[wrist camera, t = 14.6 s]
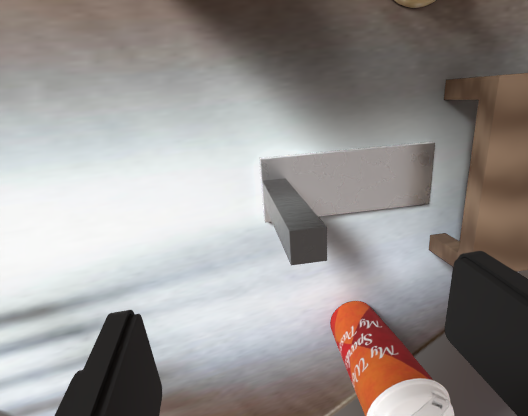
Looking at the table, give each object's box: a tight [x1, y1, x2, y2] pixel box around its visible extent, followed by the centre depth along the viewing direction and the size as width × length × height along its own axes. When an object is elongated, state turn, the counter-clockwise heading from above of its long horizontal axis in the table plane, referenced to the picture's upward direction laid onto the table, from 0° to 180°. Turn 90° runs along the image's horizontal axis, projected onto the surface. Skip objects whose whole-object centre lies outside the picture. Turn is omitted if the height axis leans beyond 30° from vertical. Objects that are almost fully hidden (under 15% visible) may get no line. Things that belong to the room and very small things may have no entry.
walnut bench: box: [429, 73, 528, 271], centre depth 35 cm, size 20×12×7 cm, turn 4°
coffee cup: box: [330, 301, 454, 416], centre depth 36 cm, size 8×8×15 cm
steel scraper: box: [259, 142, 435, 265], centre depth 30 cm, size 7×19×15 cm, turn 94°
